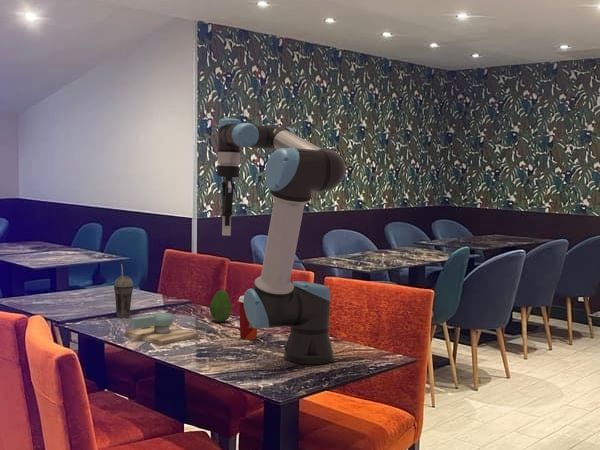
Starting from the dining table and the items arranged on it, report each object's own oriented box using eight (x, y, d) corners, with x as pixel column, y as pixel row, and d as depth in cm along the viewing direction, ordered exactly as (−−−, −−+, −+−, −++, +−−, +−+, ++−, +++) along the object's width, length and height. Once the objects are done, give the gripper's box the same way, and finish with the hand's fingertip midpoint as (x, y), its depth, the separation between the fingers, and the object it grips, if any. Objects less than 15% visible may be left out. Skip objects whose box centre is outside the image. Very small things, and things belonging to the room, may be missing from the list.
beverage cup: (137, 316, 260) (138, 264, 259) (122, 319, 254) (123, 265, 253) (123, 314, 264) (124, 262, 263) (108, 316, 258) (109, 263, 256)
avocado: (231, 319, 262) (232, 288, 261) (230, 324, 254) (231, 292, 253) (210, 319, 261) (211, 287, 260) (208, 323, 254) (209, 291, 253)
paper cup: (256, 341, 230) (257, 299, 229) (234, 339, 231) (235, 298, 230) (262, 336, 237) (263, 295, 236) (240, 334, 239) (242, 294, 238)
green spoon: (165, 320, 236) (165, 312, 236) (176, 324, 231) (176, 315, 231) (127, 325, 226) (127, 316, 226) (138, 330, 221) (138, 320, 220)
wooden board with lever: (197, 337, 232) (198, 325, 232) (161, 345, 219) (161, 333, 219) (161, 328, 243) (162, 317, 243) (125, 335, 230) (125, 323, 230)
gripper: (215, 164, 237) (213, 233, 239) (219, 164, 225) (217, 237, 226) (237, 165, 239) (234, 233, 241) (242, 165, 226) (239, 237, 228)
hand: (226, 235), depth 233 cm, fingers closed
